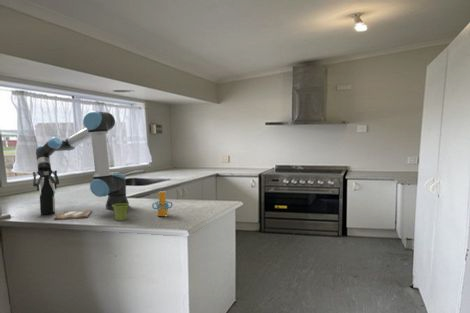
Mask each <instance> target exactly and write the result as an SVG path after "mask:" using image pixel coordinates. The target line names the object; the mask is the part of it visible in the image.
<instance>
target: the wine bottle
mask: <svg viewBox="0 0 470 313" xmlns="http://www.w3.org/2000/svg"><path fill="white" fill-rule="evenodd" d="M43 169H44V178H43V185H42V186H41V196H40V195H39V205H40V206H39V208H40V209H39V210H40V211H39V212H40V214H41V215H43V216H49V215H53V214H55V212H56V203H55V202H56V199H55V194H54V193H53V186H52V185H51V183H50V179H49V167H43Z"/></svg>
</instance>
